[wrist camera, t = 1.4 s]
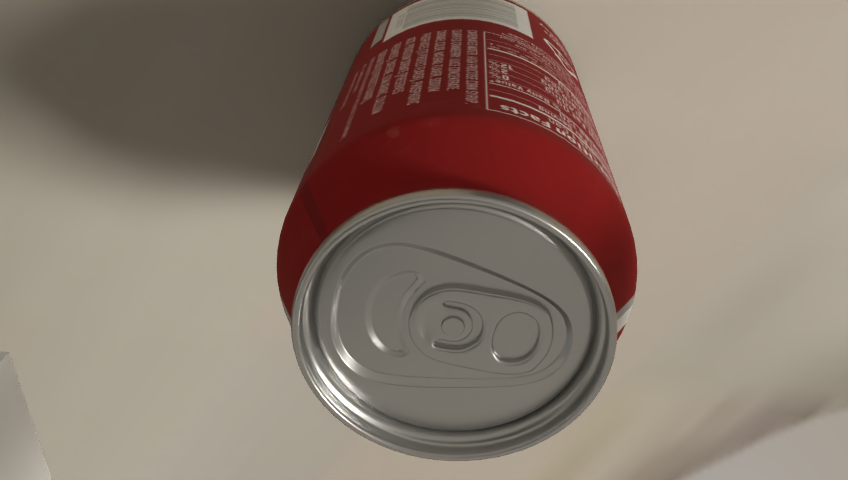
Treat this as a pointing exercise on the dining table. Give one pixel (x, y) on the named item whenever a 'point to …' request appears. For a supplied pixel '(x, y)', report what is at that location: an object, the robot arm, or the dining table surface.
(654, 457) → the dining table surface
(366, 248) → the soda can
